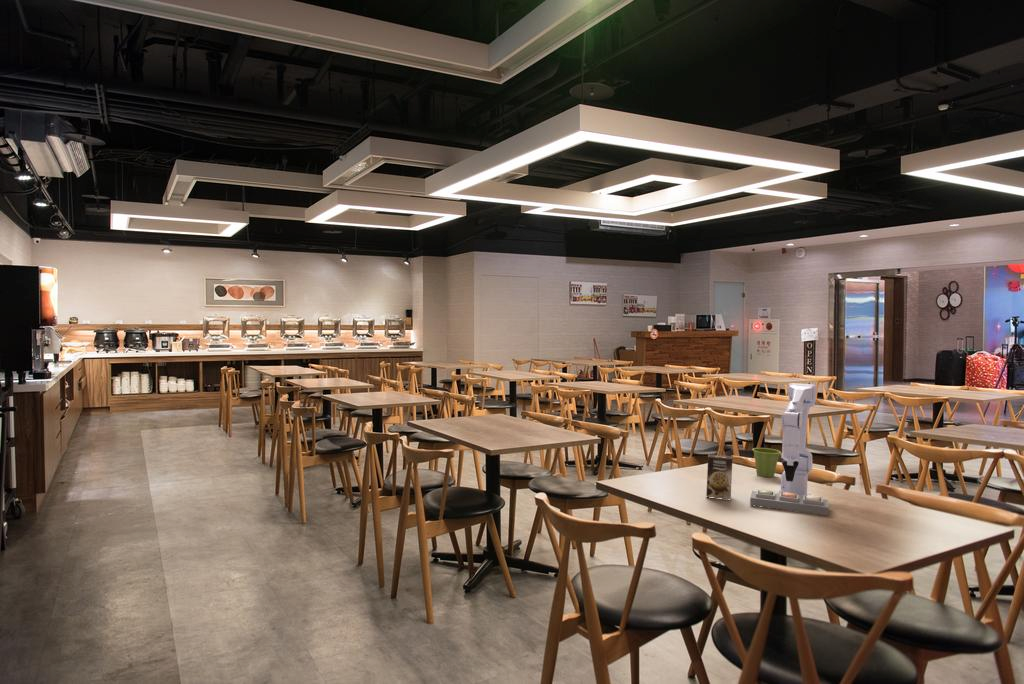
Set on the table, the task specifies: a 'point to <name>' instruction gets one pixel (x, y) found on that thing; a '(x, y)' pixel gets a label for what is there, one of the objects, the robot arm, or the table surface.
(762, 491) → the sage button
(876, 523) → the table surface
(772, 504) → the button panel
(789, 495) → the terracotta button
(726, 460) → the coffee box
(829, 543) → the table surface
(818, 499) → the cream button
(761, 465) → the plant pot
